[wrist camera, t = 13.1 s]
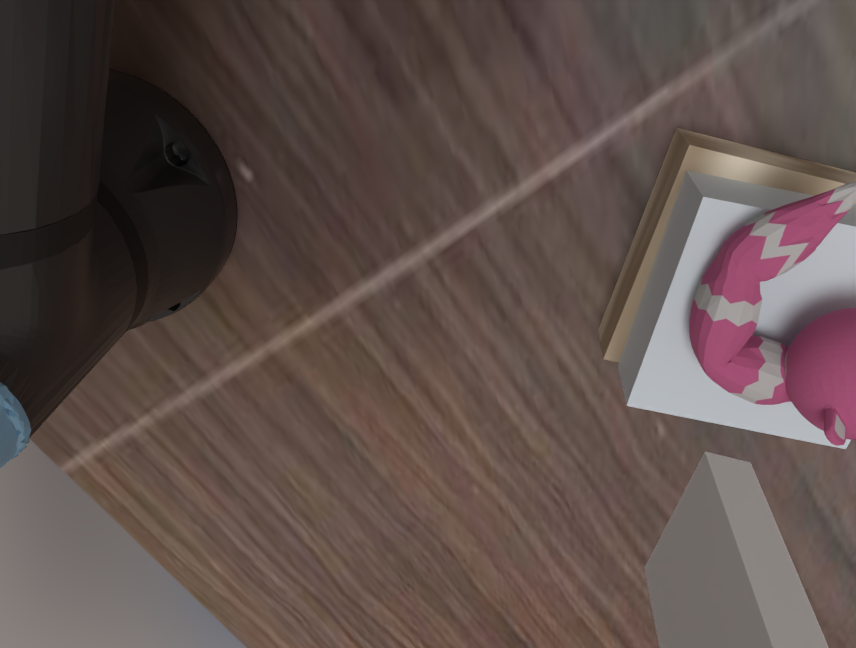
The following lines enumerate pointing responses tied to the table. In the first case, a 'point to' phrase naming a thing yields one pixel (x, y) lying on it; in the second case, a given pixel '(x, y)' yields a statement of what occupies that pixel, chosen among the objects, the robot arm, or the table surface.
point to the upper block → (778, 320)
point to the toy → (740, 307)
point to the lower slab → (681, 156)
